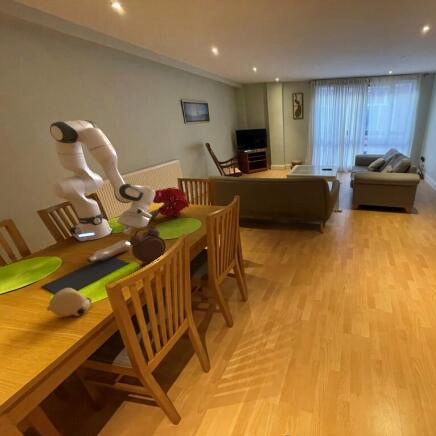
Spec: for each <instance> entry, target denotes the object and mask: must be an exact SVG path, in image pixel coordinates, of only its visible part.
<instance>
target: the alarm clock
mask: <svg viewBox="0 0 436 436" xmlns="http://www.w3.org/2000/svg"><path fill="white" fill-rule="evenodd" d="M143 228H145V229H146V228H149V229H148V230H147V231H146V232H142V235H140V234H138V232H139V231H141V230H142V229H143ZM143 230H144V229H143ZM160 233H161V232H160V230H159V229H158V228H156V226H154V227H153V226H152V225H147V226H144V227H142V228H139V229H138V228H137V230H135V232H134V235H131V236H130V237H131V238H130V239H129V243H130V245H131V253H132V256H133V257H134V258H135V259H137V260H138V261H140V262H141V264H142V266H143V265H144V264H145V263H146V265H147V264H148V265H149V264H151V262H152V261H154V260H155V259H157V258H158V257H160V256H161V255H162V256H164V254H165V252H166V242H165V240H164V239H163V238H162V237H160V236H161V234H160ZM152 263H153V262H152Z"/></svg>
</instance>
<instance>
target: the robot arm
mask: <svg viewBox="0 0 436 436" xmlns="http://www.w3.org/2000/svg"><path fill="white" fill-rule="evenodd" d="M49 132H50V135H51V136H52V138H53V139H54V146H55V150H56V155H57V158H58V162H59V165H60V166H61V167H62V168H63V169H64V170H67V171H69V172H73V174H74V175H73V176H69V177H68V176H67V177H63V178H60V179H57V180H55V181H52V183H51V184H50V189H51V192H52V193H53V195H55V196H56V197H58V198H60V199H64V200H66V201H68V202H69V203H70V204H71V205H72V206H73V208H74V210H75V212H76V215H77V221H78V223H77V224H74V225H73V226H71V227H70V228H69V232H70V234H72V236H73V237H74V238H75V239H77V241H79V242H85V241H94V240H98V239H102V238H104V237H106V236H109V235H110V234H111V232H112V231H113V228H112V227H110V225H109V223H108V220H107V218H106V219H105V218H104V215H103V213H102V212H101V209H100V206H99V204H98V202H97V201H96V200H94V199H93V198H88V197H86V196H85V194H88V193H91V192H95V191H98V190H100V189H102V188H103V186H104V179H103V178H102V176H100V175H99V174H98V173H96V172H94V171H92V170H91V169H90V168H89V166H88V165H87V161H86V158H85V155H84V151H83V147H82V144H83V145H84V146H85V147H86V149H87V151H88V152H89V155H91V157H92V158H93V160H94V161H95V162H96V164H97V165H98V166H99V168H101V170H102V171H103V173H104V174H105V176H106V178H107V179H108V181H109V183H110V184H111V186H112V188H113V193H114V195H113V196H114V197H115V198H114V199H115V200H116V201H117V202H119V203H122V204H129V203H131V205H130V207H129V208H128V209H126V210H125V211H123V212H122V213H121V214H120V215H119V216H118V219H117V221H116V223H117V224H119V225H123V226H124V229H123V232H122V233H123V234H125V235H130V233H131V232H132V231H133V230H135V229H137V230H138V229H139V228H142V227H144V226H148V224H149V222H150V218H151V216H152V215H150V214H149V213H150V212H149V208H150V206H151V205H152V204H153V200H154V197H155V191H156V190H155V189H153V188H152V187H151V186H149V185H146V184H144V185H139V184H133V183H126V182H125V181H124V178H123V177H122V175H121V174H120V172H119V169H118V159H119V157H118V155H117V152H116V149H115V148H114V146H113V144H112V143H111V141H110V140H109V138H108V137H107V136H106V135H105V133H104V132H103V131H102V130H101V128H100V127H99V125H98V124H97V123H96V122H94V121H92V120H87V119H85V120H82V119H81V120H77V119H72V120H63V121H62V120H60V121H55V122H52V123H51V124H50V126H49ZM144 229H146V228H143V229H141V230H144Z"/></svg>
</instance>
